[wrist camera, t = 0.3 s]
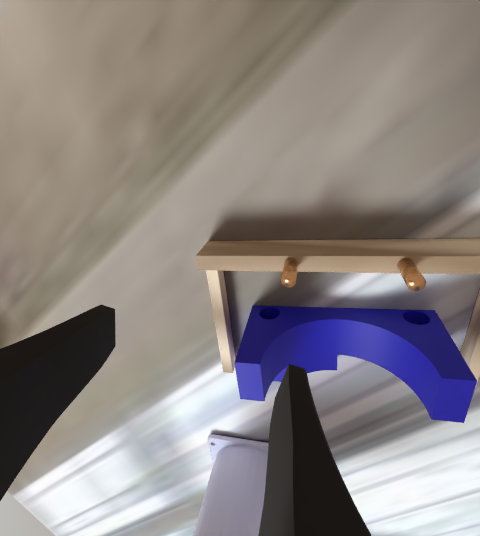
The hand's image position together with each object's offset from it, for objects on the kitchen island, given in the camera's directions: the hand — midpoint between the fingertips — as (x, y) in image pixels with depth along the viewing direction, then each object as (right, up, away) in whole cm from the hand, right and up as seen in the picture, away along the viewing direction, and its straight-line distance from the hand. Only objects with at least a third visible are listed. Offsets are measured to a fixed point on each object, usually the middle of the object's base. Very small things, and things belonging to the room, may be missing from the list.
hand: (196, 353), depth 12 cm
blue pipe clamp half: (+9, -1, +10) cm, 14 cm away
